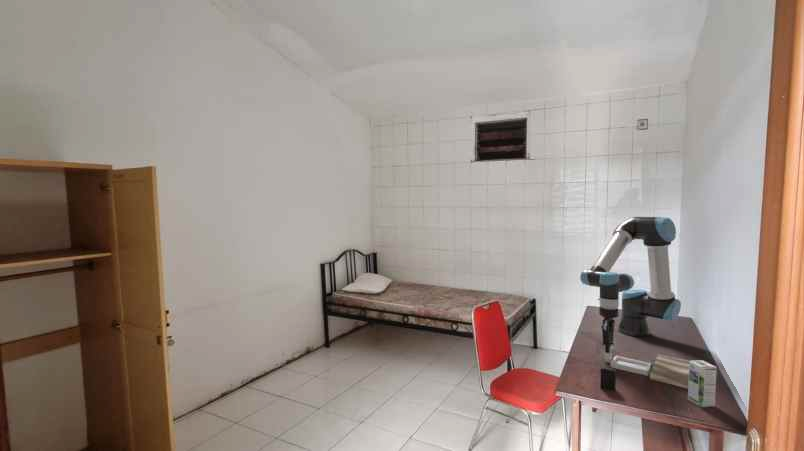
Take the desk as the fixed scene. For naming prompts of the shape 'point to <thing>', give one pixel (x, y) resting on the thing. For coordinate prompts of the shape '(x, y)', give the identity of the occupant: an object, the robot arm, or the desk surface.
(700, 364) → the syrup box
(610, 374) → the ink cartridge
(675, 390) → the desk surface
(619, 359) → the white tray
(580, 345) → the desk surface
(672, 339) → the desk surface
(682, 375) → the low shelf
